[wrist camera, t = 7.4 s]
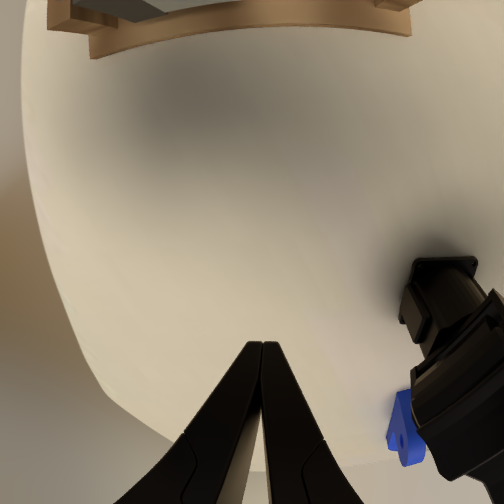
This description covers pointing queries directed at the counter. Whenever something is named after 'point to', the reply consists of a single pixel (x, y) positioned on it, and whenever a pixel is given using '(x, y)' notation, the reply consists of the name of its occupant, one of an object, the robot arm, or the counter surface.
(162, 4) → the sleeve
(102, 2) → the collar
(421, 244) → the counter surface
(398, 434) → the bracket
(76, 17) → the wooden rail stand
